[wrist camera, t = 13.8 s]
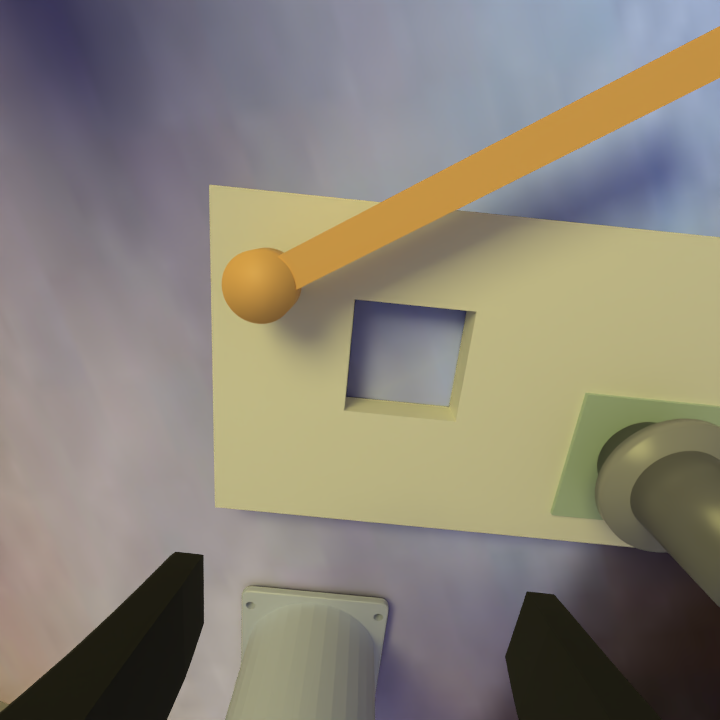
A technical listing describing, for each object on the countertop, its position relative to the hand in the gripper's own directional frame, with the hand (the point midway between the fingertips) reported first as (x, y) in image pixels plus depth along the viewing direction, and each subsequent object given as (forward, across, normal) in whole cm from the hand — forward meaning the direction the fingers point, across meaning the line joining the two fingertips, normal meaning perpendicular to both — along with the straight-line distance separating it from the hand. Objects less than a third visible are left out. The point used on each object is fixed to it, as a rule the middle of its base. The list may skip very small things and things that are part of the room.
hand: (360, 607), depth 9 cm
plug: (+9, -12, 0) cm, 15 cm away
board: (+10, -4, -2) cm, 11 cm away
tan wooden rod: (+8, -2, -9) cm, 12 cm away
